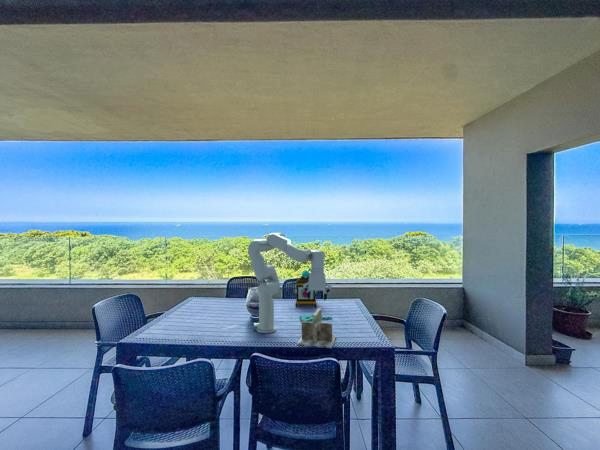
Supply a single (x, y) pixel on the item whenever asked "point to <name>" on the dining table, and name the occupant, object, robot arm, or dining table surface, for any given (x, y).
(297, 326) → the dining table surface
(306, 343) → the cross base
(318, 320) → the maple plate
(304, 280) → the decorative lantern
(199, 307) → the dining table surface
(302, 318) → the alien figure
